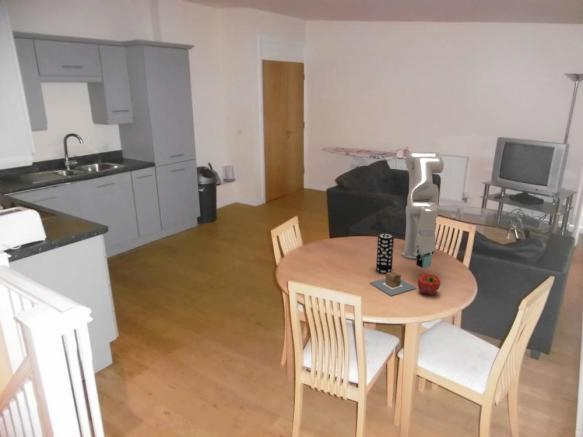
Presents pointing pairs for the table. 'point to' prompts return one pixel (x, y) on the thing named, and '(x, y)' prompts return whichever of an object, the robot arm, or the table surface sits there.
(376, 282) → the slate mat
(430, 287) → the vegetable
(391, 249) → the white-spotted black cylinder
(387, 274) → the walnut block
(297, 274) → the table surface
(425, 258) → the teal block
